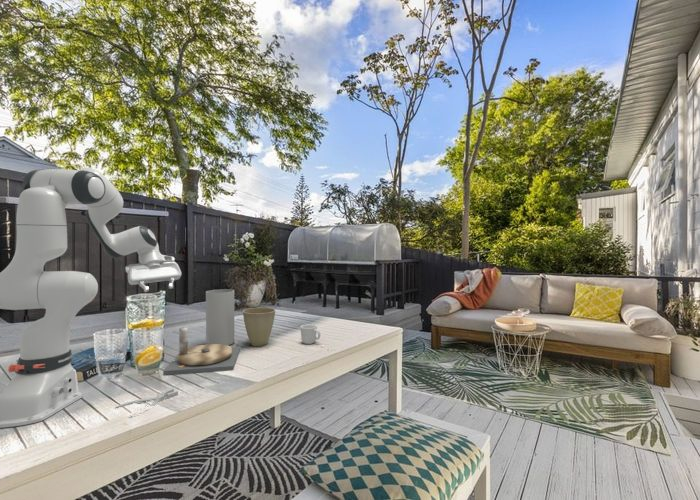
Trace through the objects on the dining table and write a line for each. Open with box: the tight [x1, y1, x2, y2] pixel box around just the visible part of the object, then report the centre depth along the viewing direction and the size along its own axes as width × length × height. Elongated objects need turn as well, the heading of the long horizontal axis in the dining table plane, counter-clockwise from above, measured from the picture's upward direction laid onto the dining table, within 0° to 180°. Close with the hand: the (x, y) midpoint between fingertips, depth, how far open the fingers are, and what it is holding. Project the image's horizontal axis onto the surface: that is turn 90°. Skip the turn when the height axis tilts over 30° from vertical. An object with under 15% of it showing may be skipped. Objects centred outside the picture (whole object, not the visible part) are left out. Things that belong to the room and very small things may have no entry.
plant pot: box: [242, 307, 276, 347], centre depth 159 cm, size 15×15×16 cm
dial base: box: [162, 346, 241, 376], centre depth 135 cm, size 24×24×2 cm
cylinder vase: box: [205, 288, 235, 346], centre depth 159 cm, size 12×12×25 cm
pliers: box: [114, 387, 179, 416], centre depth 100 cm, size 10×2×15 cm
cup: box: [299, 323, 321, 345], centre depth 160 cm, size 11×8×8 cm
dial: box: [177, 327, 232, 365], centre depth 135 cm, size 20×20×12 cm
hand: (159, 289), depth 143 cm, fingers open, 8 cm apart
